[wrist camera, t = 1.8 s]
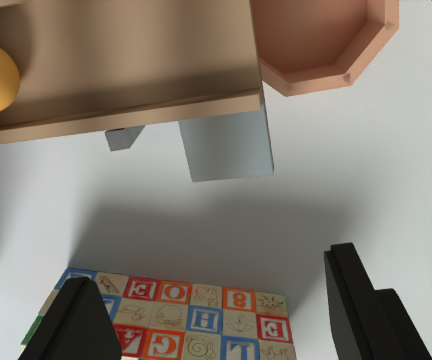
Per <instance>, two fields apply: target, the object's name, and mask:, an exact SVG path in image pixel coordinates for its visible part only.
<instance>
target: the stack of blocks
mask: <svg viewBox="0 0 432 360" xmlns="http://www.w3.org/2000/svg"><path fill="white" fill-rule="evenodd" d="M84 276H87V277H89V278H90V280H91V281H92V280H94V281H95V282H96V283H97V285H98V288H99V290H100V293H101V296H102V298H103V301H104V303H105V306H106V309H107V311H108V314H109V316H110V319H111V321H112V324H113V327H114V329H115V332H116V334H117V337H118V339H119V342H120V345H121V348H122V358H121V360H297V359H296V352H295V348H294V345H293V339H292V333H291V328H290V323H289V319H288V311H287V304H286V299H285V296H284V295H277V294H269V293H262V292H255V291H252V290H244V289H236V288H229V287H221V286H214V285H206V284H198V283H192V284H189V283H182V282H174V281H165V280H161V281H160V280H154V279H147V278H138V277H129V276H128V275H119V274H111V273H103V272H95V271H87V270H78V269H70V268H67V269H66V270H65V272H64V273H63V275H62V276H61V278H60V280H59V281H58V283H57V284H56V286H55V287H54V290H53V291H52V292H51V293H50V295H49V297H48V298H47V300H46V301H45V303H44V305H43V306H42V308H41V310H40V311H39V313H38V316H37V318H36V319H35V321H34V323H33V324H32V326H31V328H30V329H29V331H28V333H27V334H26V336H25V338H24V339H23V341H22V343H21V351H22V352H23V350H24V349H25V347H26V345H27V344H28V342H29V340H30V339H31V337H32V335H33V334H34V332H35V330H36V329H37V327H38V325H39V324H40V322H41V320H42V319H43V317H44V315H45V314H46V312H47V310H48V309H49V307H50V305H51V304H52V302H53V300H54V299H55V297H56V295H57V294H58V292H59V290H60V289H61V287H62V285H63V284H64V282H65V281H66V280H67V279H69V278H76V277H84Z"/></svg>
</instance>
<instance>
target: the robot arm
mask: <svg viewBox="0 0 432 360" xmlns="http://www.w3.org/2000/svg"><path fill="white" fill-rule="evenodd" d="M324 261H325V272H326V283H327V294H328V305H329V316H330V326H331V332H332V337H333V341H334V344H335V348H336V351H337V355H338V358H339V360H432V357H431V356H430V354H429V352H428V350H427V348H426V346H425V344H424V343H423V341H422V339H421V337H420V335H419V333H418V331H417V330H416V328H415V326H414V324H413V322H412V320H411V318H410V317H409V315H408V313H407V311H406V309H405V307H404V306H403V304H402V302H401V300H400V298H399V296H398V294H397V293H396V291H395V290H394V289H392V288H390V289H381V290H374V288H373V286H372V283H371V281H370V279H369V277H368V275H367V273H366V271H365V268H364V266H363V264H362V262H361V260H360V258H359V256H358V254H357V251H356V249H355V247H354V245H353V243H343V244H335V245H331V251H324ZM121 358H122V348H121V345H120V342H119V339H118V337H117V334H116V332H115V329H114V327H113V324H112V321H111V319H110V316H109V314H108V311H107V309H106V306H105V303H104V301H103V298H102V296H101V293H100V290H99V288H98V285H97V283H96V282H95V281H94V280H92V281H91V280H90V278H89V277H87V276H84V277H76V278H69V279H67V280H66V281H65V282H64V284H63V285H62V287H61V289H60V290H59V292H58V294H57V295H56V297H55V299H54V300H53V302H52V304H51V305H50V307H49V309H48V310H47V312H46V314H45V315H44V317H43V319H42V320H41V322H40V324H39V325H38V327H37V329H36V330H35V332H34V334H33V335H32V337H31V339H30V340H29V342H28V344H27V345H26V347H25V349H24V350H23V352H22V354H21V356H20V357H19V359H18V360H121Z"/></svg>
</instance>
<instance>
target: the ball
mask: <svg viewBox="0 0 432 360" xmlns="http://www.w3.org/2000/svg"><path fill="white" fill-rule="evenodd" d="M19 87H20V76H19V72H18V69H17V67H16V65H15V63H14V61H13V60H12V59H11V57H10V56H9V55H8V54H7V53H6V52H5V51H4V50H2V49H1V48H0V111H1V110H3V109H5V108H6V107H8V106H9V105H10V104H11V103H12V102H13V101H14V99H15V98H16V96H17V94H18V91H19Z"/></svg>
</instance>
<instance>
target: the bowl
mask: <svg viewBox="0 0 432 360" xmlns="http://www.w3.org/2000/svg"><path fill="white" fill-rule="evenodd" d="M251 4H252V11H253V18H254V26H255V33H256V40H257V47H258V55H259V62H260V69H261V77H262V80H263V81H264V82H266V83H267V84H268V85H270V86H271V87H272V88H274V89H275V90H277V91H278V92H279V93H281V94H282V95H284V96H286V97H288V96H294V95H300V94H305V93H311V92H317V91H323V90H329V89H334V88H340V87H346V86H351V85H352V84H353V83H354V81H355V80H356V79H357V78H358V77H359V75H360V74H361V73H362V72H363V71H364V69H365V68H366V67H367V66H368V65H369V63H370V62H371V61H372V60H373V59H374V57H375V56H376V55H377V54H378V53H379V51H380V50H381V49H382V48H383V47H384V45H385V44H386V43H387V42H388V41H389V40H390V38H391V37H392V36H393V35H394V34H395V32H396V31H397V30H398V29H399V0H251Z"/></svg>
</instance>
